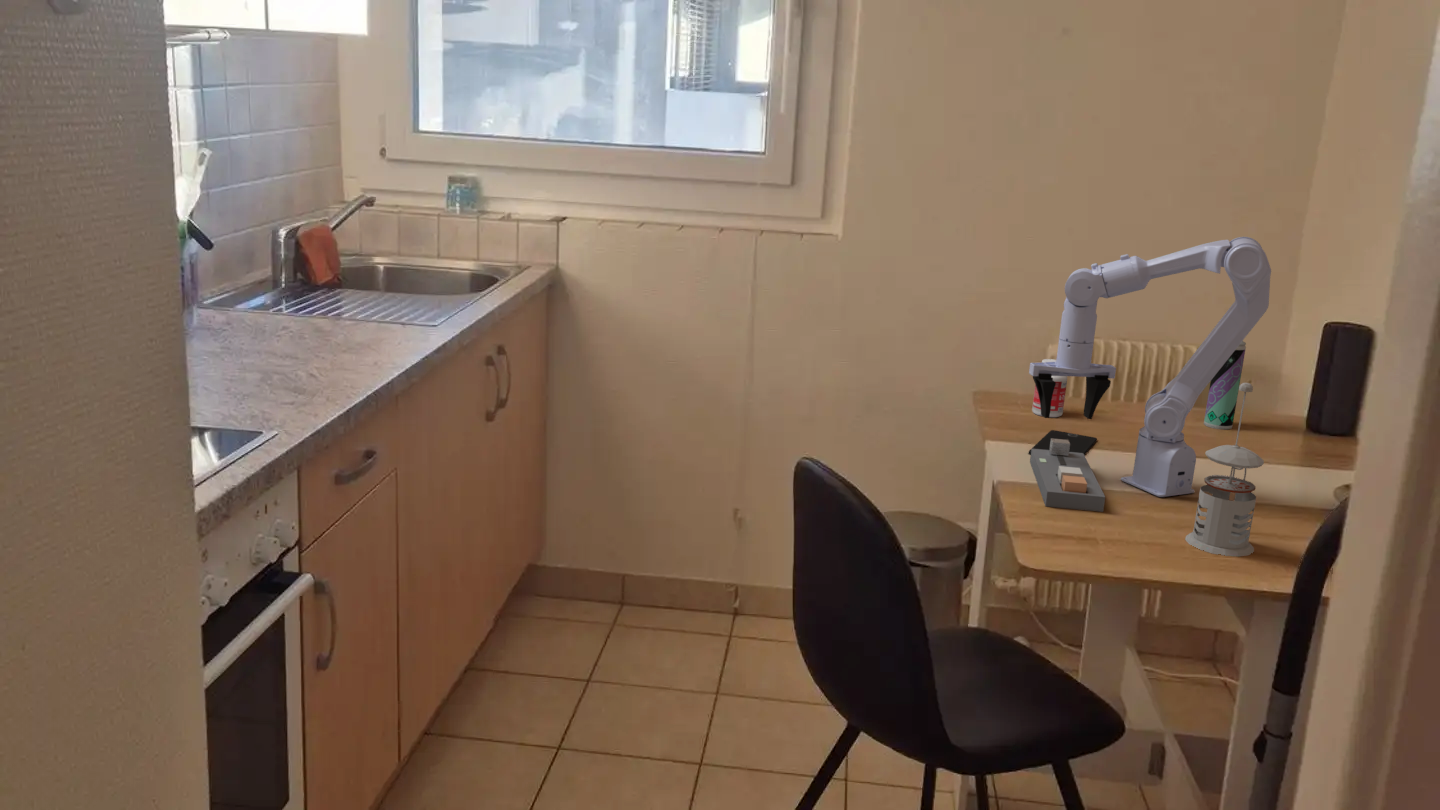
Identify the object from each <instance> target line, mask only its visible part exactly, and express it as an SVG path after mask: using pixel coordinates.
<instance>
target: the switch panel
mask: <svg viewBox="0 0 1440 810" xmlns="http://www.w3.org/2000/svg"><path fill="white" fill-rule="evenodd" d="M1030 450H1031V455H1030V459H1029V463H1030V467H1031V470H1032V472H1033V475H1034V477H1035V481H1036V483H1037V487H1038V489H1039V492H1040V494H1041V497H1042V502H1043V503H1044V507H1047V508H1057V509H1059V508H1060V509H1070V510H1078V511H1079V510H1082V511H1091V512H1101V513H1103V512H1104V508H1105V503H1106V496H1105V493H1104V491H1103V490H1102V488H1101V486H1100V483H1099V482H1098V479H1097V478H1096V476H1095V474H1094V472H1093V470H1092V468H1091V466H1090V463H1089V462H1088V460H1087V458H1086V456H1085V455H1084V454H1083V453H1076V452H1069V456H1065V455H1054V454H1051V453H1050V451H1049V450H1042V449H1032V448H1031V449H1030ZM1059 466H1064V467H1074V468H1080V470H1081V472H1082V474H1083V476H1082V477H1084V478H1085V480H1086V482H1087V489H1086V493H1078V492H1067V491H1062V488H1061V484H1062V482H1060V481H1058V478H1057V476H1058V469H1059Z"/></svg>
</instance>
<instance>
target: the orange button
mask: <svg viewBox="0 0 1440 810" xmlns="http://www.w3.org/2000/svg"><path fill="white" fill-rule="evenodd" d="M1061 488H1062V491H1067V492H1078V493H1086V489H1087V482H1086V480H1085V478H1084V477H1076V476H1065V475H1063V477H1062V484H1061Z"/></svg>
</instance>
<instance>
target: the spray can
mask: <svg viewBox="0 0 1440 810" xmlns="http://www.w3.org/2000/svg"><path fill="white" fill-rule="evenodd" d="M1246 345H1247V343H1246V342H1245V341H1244V340H1243V341H1242V342H1241V343H1240V345H1239V346H1238V347H1237V348H1236V350H1235V351H1234V352H1233V353H1232V355H1231V356H1230V357H1229V358H1228V360H1227V361H1226V362H1225V363H1224V365H1223V366H1222V367H1221V368H1220V370H1219V371H1218V372H1217V373H1216V375H1215V376H1214V377H1213V379H1212V380H1211V381H1210V382H1209V387H1208V388H1209V389H1208V395H1207V402H1206V407H1205V413H1204V420H1203V425H1204V426H1206V427H1208V428H1211V429H1216V430H1232V429H1233V425H1234V419H1235V413H1236V408H1237V407H1236V406H1237V402H1238V401H1237V400H1238V397H1239V391H1240V390H1239V386H1240V385H1241V377H1242V372H1243V365H1244V362H1245V361H1244V360H1245V356H1246V355H1245V354H1246V348H1247V347H1246Z"/></svg>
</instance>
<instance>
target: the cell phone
mask: <svg viewBox="0 0 1440 810" xmlns="http://www.w3.org/2000/svg"><path fill="white" fill-rule="evenodd" d="M1051 438H1052V439H1063V440H1069V442H1070V449H1069V452H1076V453H1083V454H1084V456H1085V455H1086V454H1087V453H1088V452H1089V451H1090V449H1091V448H1092V447H1093V446H1094V445H1095V444H1096V443H1097V442H1098V438H1097V437H1094V436H1088V435H1085V434H1084V435H1082V434H1078V433H1072V432H1067V431H1060V430H1055V429H1051V430H1050V431H1049V432H1048V433H1046V434H1045V435H1044V436H1043V437H1042V438H1041V439H1040V440H1039V441H1038V442H1037V443H1036V444H1035V445H1034V446H1032V448H1031V449H1042V450H1050V442H1051ZM1031 449H1029V451H1028V453H1027V454H1028V455H1029V456H1031Z"/></svg>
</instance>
